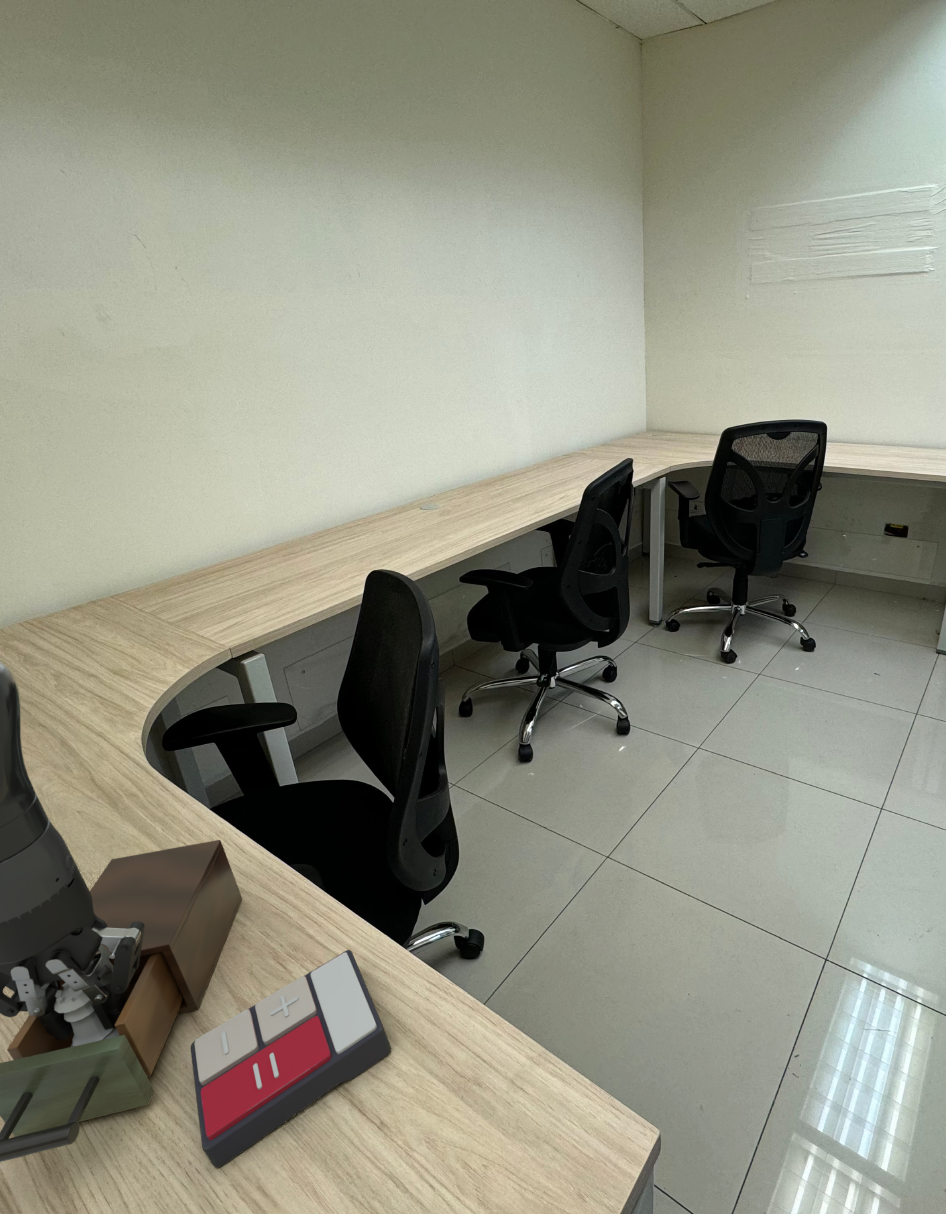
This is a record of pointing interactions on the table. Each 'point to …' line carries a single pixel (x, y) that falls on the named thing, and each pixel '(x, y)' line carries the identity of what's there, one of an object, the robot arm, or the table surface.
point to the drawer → (85, 1067)
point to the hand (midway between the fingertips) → (93, 1024)
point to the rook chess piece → (81, 1017)
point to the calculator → (284, 1056)
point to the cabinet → (174, 908)
